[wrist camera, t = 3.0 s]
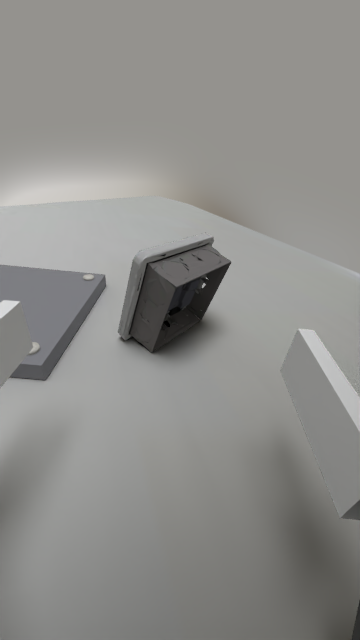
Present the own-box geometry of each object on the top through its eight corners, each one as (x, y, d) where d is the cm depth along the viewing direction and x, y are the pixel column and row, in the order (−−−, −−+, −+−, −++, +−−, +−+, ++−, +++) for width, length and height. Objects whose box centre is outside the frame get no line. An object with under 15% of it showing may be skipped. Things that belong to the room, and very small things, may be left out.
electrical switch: (179, 304, 30) (194, 225, 25) (215, 326, 28) (240, 244, 23) (116, 339, 24) (116, 243, 19) (155, 370, 22) (169, 273, 16)
